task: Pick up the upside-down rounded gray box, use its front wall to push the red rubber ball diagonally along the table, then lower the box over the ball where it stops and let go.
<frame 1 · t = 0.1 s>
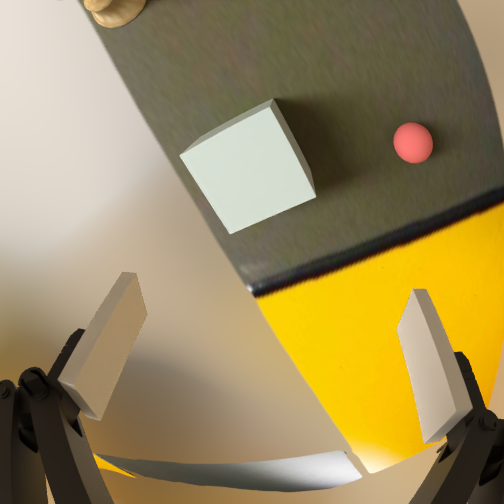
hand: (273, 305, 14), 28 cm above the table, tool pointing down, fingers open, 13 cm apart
ball: (413, 142, 32), on the table
rounded gray box: (255, 151, 38), on the table
hand bell: (119, 0, 27), on the table
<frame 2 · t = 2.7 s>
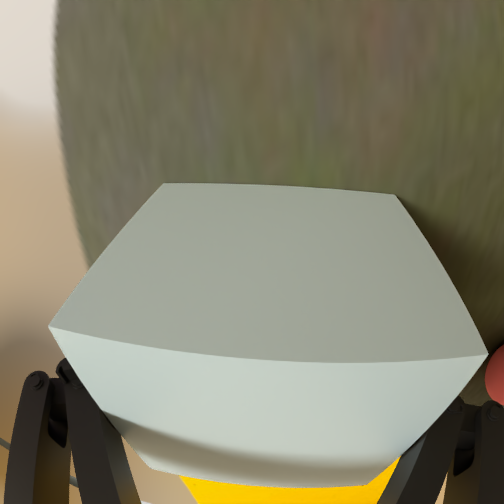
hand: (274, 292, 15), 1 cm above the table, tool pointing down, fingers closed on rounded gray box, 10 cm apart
rounded gray box: (274, 282, 16), on the table, touching gripper
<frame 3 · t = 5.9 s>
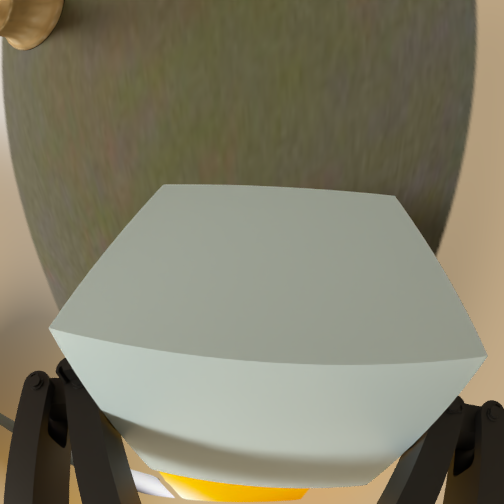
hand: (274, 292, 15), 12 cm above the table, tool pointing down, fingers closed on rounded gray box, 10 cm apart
rounded gray box: (274, 282, 16), point 12 cm above the table, touching gripper
hand bell: (34, 11, 17), on the table
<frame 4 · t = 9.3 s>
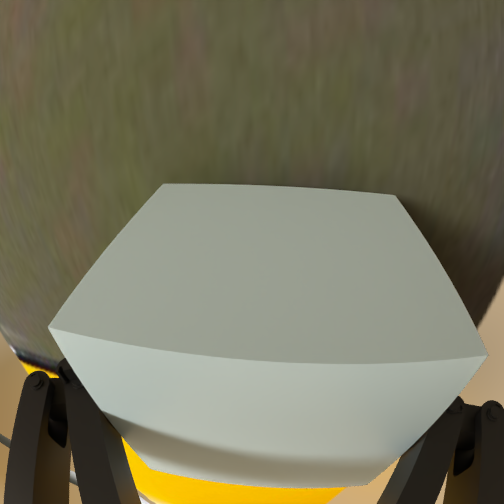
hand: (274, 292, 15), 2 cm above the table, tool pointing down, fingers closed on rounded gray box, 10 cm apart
rounded gray box: (274, 282, 16), point 1 cm above the table, touching gripper
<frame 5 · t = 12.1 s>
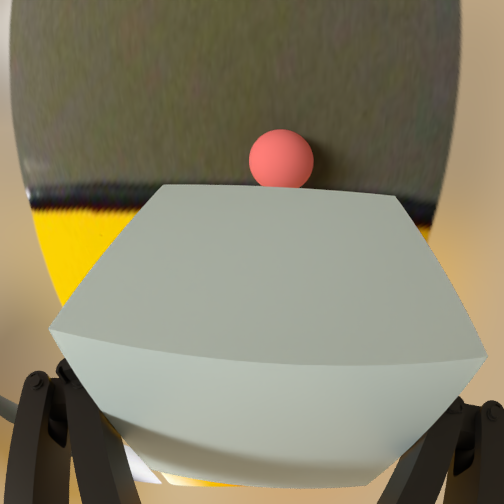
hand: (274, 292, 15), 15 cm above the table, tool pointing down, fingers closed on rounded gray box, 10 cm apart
ball: (281, 160, 24), on the table
rounded gray box: (274, 283, 16), point 14 cm above the table, touching gripper
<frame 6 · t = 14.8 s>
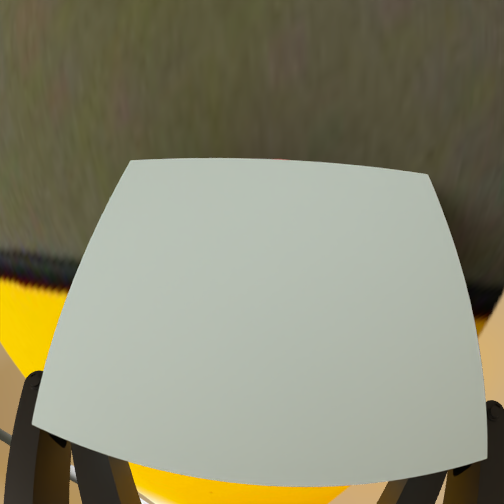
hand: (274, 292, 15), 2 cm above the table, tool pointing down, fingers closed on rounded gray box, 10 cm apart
rounded gray box: (276, 254, 14), point 2 cm above the table, tilted 21°, touching ball, gripper
when the fingers open (2 cm above the table, at t = 15.2 s): rounded gray box drops 2 cm, on the table.
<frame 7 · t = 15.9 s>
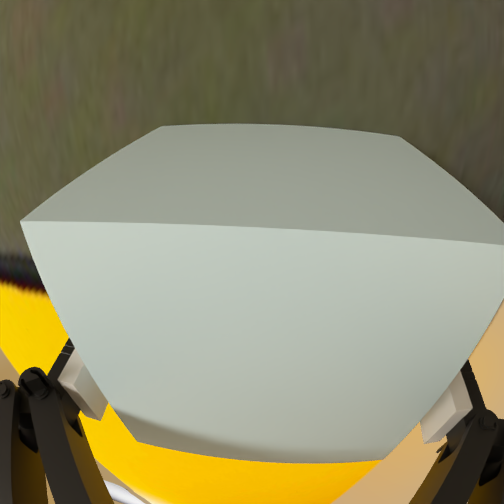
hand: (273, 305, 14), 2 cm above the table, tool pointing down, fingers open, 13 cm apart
rounded gray box: (276, 233, 15), on the table
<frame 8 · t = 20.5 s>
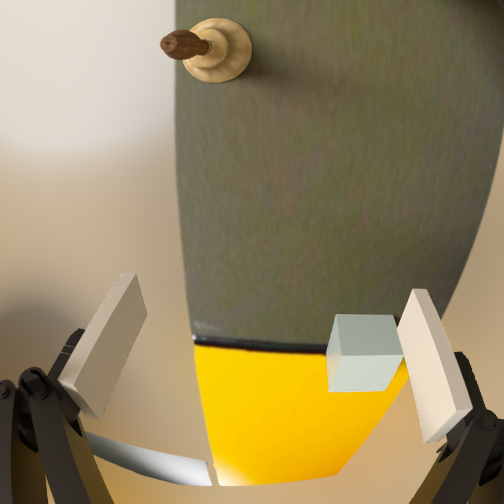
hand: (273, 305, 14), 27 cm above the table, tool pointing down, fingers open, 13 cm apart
rounded gray box: (358, 335, 52), on the table
hand bell: (216, 50, 31), on the table
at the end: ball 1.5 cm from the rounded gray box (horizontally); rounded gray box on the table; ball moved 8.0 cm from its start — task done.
